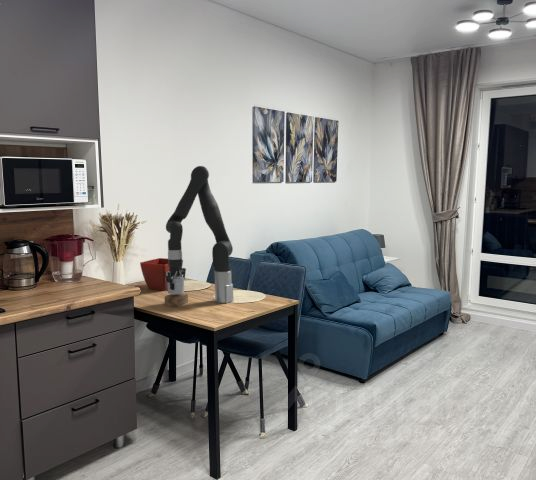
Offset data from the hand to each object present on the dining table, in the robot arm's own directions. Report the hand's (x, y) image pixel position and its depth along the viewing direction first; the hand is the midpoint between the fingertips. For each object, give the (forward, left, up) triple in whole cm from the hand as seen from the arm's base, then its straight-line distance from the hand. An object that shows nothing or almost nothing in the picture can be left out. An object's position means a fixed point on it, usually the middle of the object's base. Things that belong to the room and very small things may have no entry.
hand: (176, 288), depth 264 cm
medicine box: (0, 0, -3) cm, 3 cm away
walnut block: (0, 0, -9) cm, 9 cm away
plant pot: (+34, -23, -9) cm, 42 cm away
